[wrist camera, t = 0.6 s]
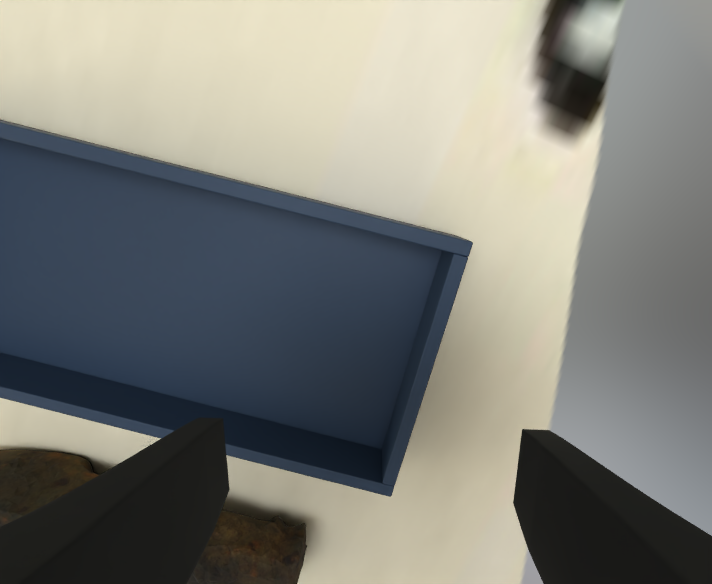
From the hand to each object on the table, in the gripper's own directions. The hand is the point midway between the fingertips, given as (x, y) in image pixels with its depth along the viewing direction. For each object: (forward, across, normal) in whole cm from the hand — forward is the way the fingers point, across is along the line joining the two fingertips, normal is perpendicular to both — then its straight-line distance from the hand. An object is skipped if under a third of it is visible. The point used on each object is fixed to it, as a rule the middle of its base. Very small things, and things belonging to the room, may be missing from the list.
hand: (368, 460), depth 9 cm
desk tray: (+10, +10, -2) cm, 14 cm away
